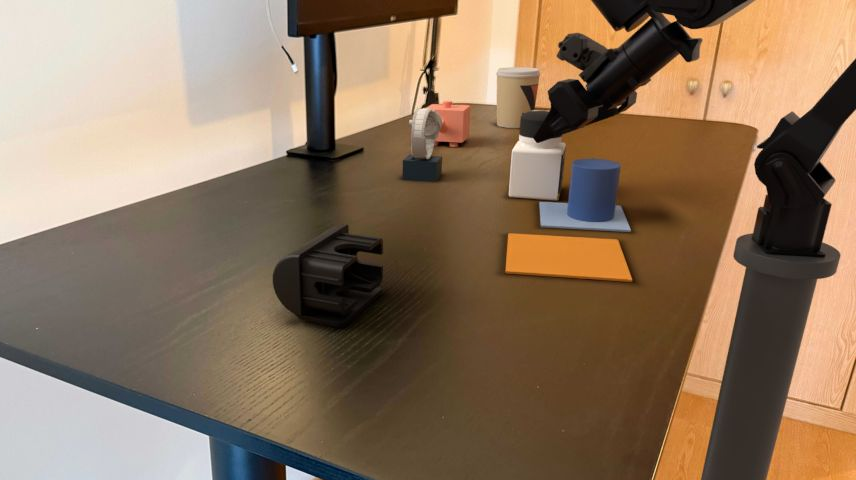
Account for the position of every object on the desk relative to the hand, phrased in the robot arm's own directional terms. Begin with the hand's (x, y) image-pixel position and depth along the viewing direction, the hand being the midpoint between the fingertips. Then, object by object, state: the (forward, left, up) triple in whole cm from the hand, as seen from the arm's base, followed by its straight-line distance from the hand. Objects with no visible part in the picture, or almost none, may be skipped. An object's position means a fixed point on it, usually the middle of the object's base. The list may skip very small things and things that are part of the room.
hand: (549, 135), depth 102 cm
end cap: (+21, +44, -9) cm, 50 cm away
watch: (+19, -8, -9) cm, 23 cm away
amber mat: (-2, +26, -9) cm, 28 cm away
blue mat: (-5, +10, -9) cm, 14 cm away
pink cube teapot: (+18, -35, -9) cm, 40 cm away
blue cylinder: (-6, +10, -9) cm, 15 cm away
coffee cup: (+5, -58, -9) cm, 59 cm away
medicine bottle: (+1, -1, -9) cm, 9 cm away
